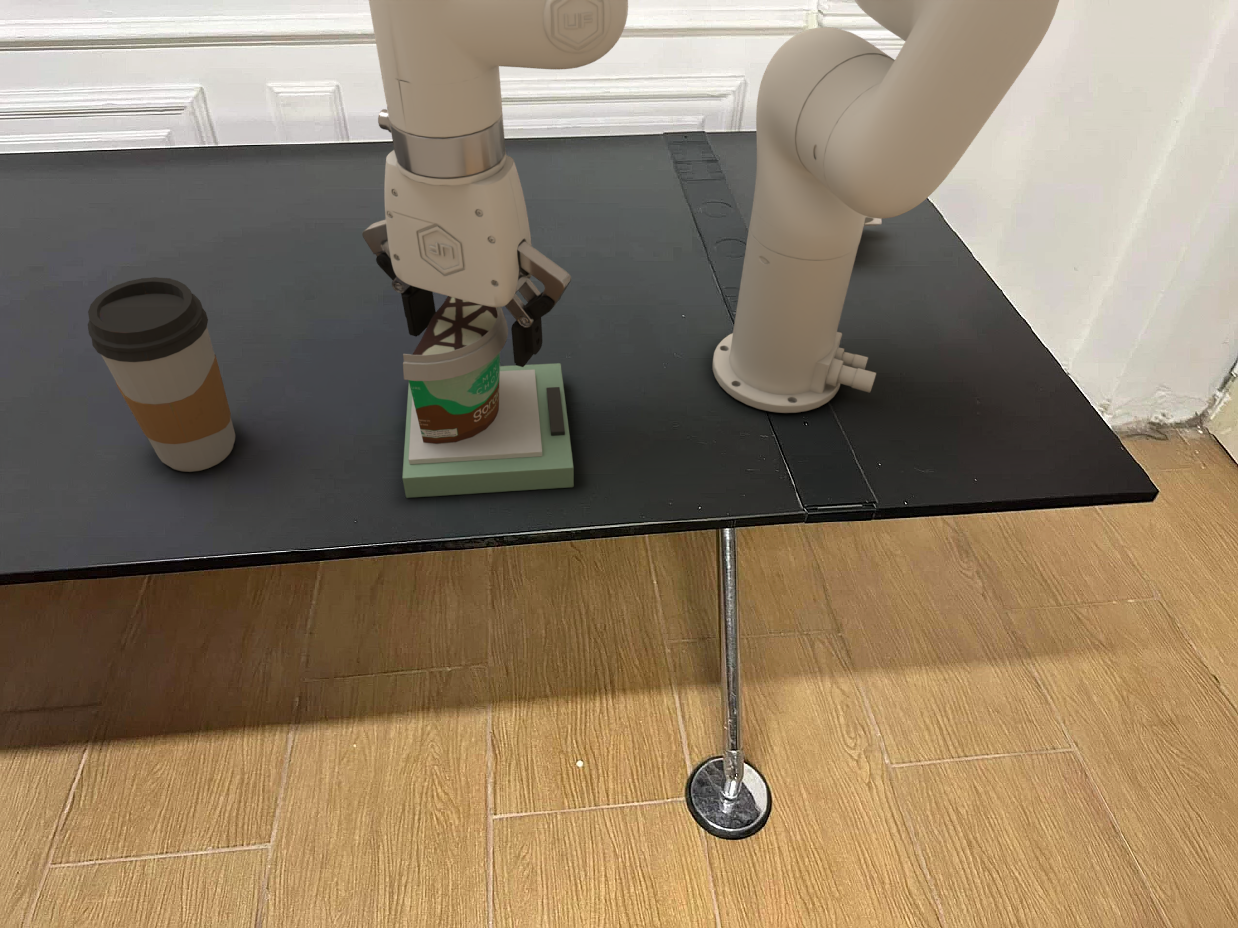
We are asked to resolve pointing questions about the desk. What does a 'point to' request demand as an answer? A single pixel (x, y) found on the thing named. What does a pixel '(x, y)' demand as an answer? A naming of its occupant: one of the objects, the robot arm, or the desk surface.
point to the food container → (457, 371)
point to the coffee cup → (165, 369)
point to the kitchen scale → (499, 442)
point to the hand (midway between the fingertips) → (474, 341)
